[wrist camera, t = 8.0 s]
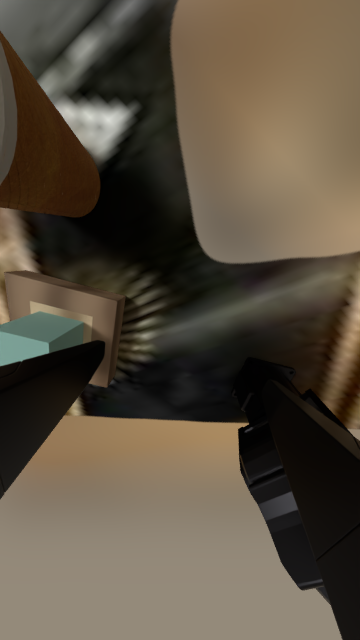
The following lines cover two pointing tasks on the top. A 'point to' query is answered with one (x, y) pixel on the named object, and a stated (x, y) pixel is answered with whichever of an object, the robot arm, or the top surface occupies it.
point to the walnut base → (71, 311)
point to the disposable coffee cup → (39, 148)
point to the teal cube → (37, 336)
